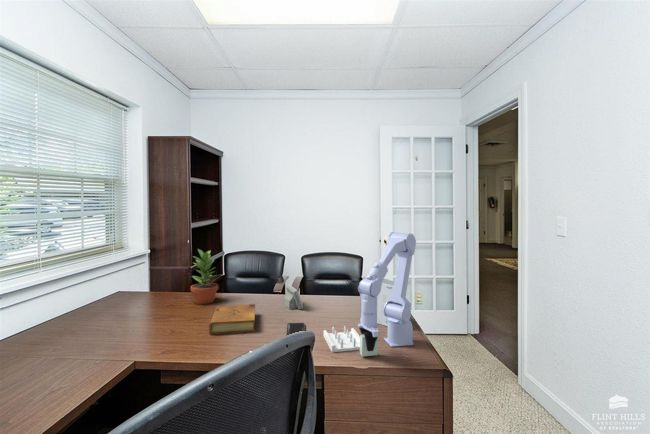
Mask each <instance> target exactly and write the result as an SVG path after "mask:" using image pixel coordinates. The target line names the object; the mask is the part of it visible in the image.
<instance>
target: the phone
mask: <svg viewBox="0 0 650 434" xmlns="http://www.w3.org/2000/svg"><path fill="white" fill-rule="evenodd" d="M286 325H287V327H286V336H287V335H289V334H292V333H295V332H299V331H305V332H306V325H305V322H289V323H287V324H286Z"/></svg>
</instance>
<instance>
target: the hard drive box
mask: <svg viewBox="0 0 650 434" xmlns="http://www.w3.org/2000/svg"><path fill="white" fill-rule="evenodd" d="M394 282H395V279H394V280H393V279H389V278H384V279H383V281H382V286H381V292H380V293H379V295H378V296H377V324H379V325H382V326H385V327H388V320H387V319H386V316H385V315H384V312H383V308H384V305H385V303H386V300H387V298H388V297H390V296H391V295H392V294H393V288H394ZM394 303H396V302H394ZM396 304H400V303H396ZM400 305H402V304H400Z"/></svg>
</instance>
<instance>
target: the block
mask: <svg viewBox="0 0 650 434" xmlns="http://www.w3.org/2000/svg"><path fill="white" fill-rule="evenodd" d="M359 336H360V350H359V355H360V356H361V357H369V356H370V357H371V356H378V355H379V337H378V338H377V340H376V342H375V346H374V350H373V351H367V346H366V339H365V336H364V334H360V335H359Z"/></svg>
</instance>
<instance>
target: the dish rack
mask: <svg viewBox="0 0 650 434" xmlns="http://www.w3.org/2000/svg"><path fill="white" fill-rule="evenodd" d="M331 328H332V331H331V332H330V333H329V332H327V330H326V329H323V338H324V339H325V340H324V341H325V342H326V344H327V345H328V347H329V350H330V351H331V353H339V352H349V351H350V352H351V351H352V352H353V351H360V335H359V333H358V332H357V331H356V329H355V328H354V327H351V329H350V330H349V329H347V326H346V325H344V326H343V331H342V332H341V331H339V332H338V330H335V326H332V327H331Z"/></svg>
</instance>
